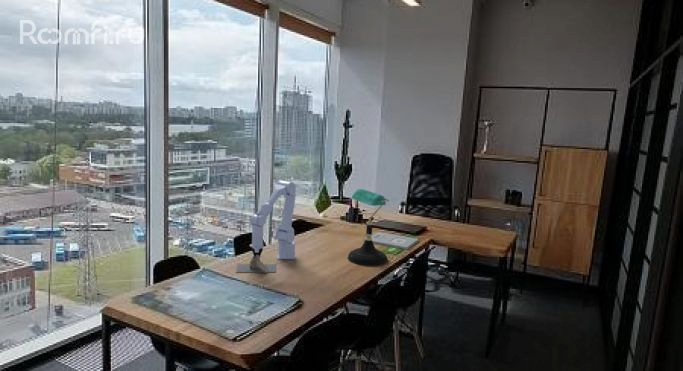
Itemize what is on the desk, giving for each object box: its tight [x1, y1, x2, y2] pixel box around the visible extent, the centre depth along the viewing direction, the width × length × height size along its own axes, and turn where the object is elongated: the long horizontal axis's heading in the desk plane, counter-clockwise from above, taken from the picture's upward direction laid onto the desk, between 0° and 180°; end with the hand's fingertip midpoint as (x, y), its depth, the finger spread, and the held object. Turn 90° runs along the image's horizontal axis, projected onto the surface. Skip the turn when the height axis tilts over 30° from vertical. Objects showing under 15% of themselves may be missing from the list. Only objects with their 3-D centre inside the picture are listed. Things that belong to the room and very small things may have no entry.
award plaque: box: [363, 231, 419, 251], centre depth 292 cm, size 25×30×2 cm
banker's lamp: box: [347, 188, 390, 267], centre depth 248 cm, size 26×23×40 cm
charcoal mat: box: [235, 263, 277, 274], centre depth 227 cm, size 20×12×1 cm, turn 99°
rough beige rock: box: [249, 255, 268, 274], centre depth 224 cm, size 6×14×7 cm, turn 36°
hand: (257, 261), depth 232 cm, fingers closed
